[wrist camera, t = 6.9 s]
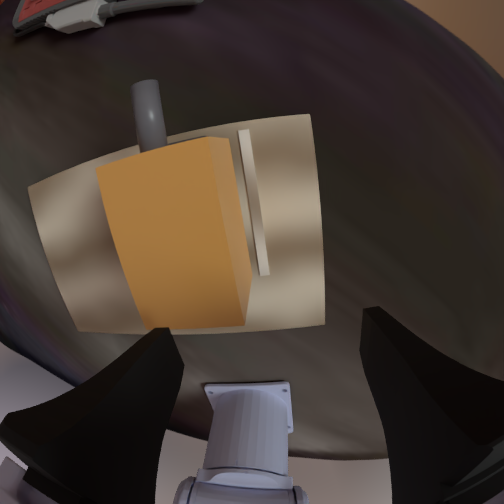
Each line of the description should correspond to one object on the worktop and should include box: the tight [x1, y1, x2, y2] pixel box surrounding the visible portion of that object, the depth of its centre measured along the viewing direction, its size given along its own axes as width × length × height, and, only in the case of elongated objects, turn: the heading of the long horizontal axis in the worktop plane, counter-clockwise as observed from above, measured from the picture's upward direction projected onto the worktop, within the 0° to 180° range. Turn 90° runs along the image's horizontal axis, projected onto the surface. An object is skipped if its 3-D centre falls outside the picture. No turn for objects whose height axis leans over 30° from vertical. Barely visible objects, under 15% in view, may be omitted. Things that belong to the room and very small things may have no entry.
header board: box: [28, 114, 325, 334], centre depth 17 cm, size 14×22×5 cm, turn 98°
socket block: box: [95, 80, 252, 330], centre depth 13 cm, size 11×5×5 cm, turn 9°
